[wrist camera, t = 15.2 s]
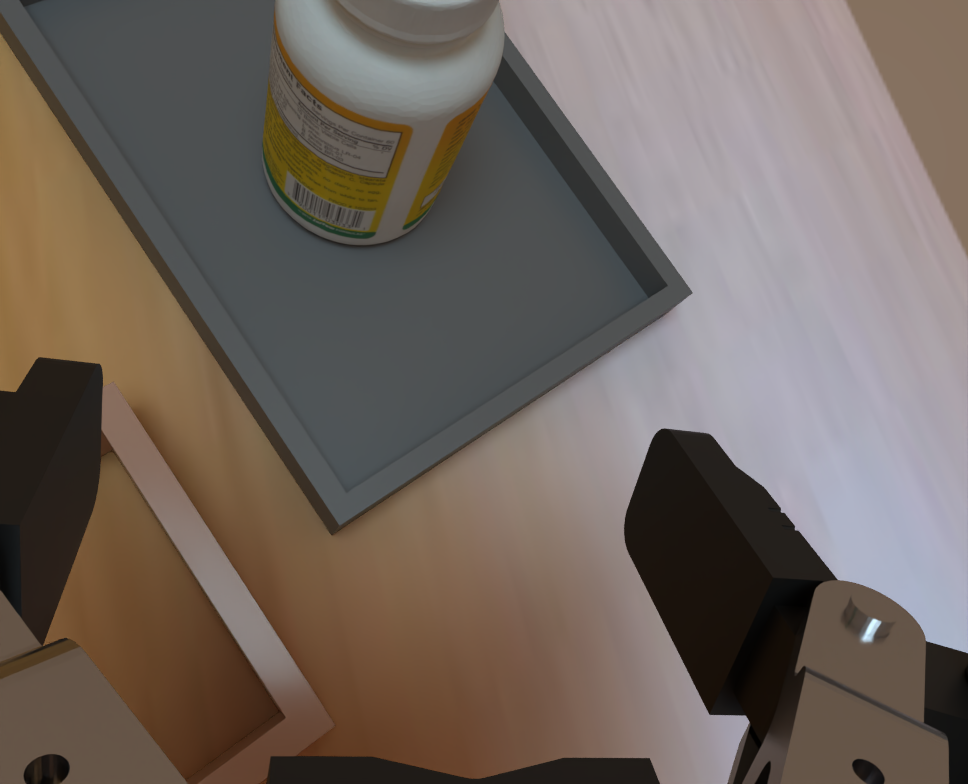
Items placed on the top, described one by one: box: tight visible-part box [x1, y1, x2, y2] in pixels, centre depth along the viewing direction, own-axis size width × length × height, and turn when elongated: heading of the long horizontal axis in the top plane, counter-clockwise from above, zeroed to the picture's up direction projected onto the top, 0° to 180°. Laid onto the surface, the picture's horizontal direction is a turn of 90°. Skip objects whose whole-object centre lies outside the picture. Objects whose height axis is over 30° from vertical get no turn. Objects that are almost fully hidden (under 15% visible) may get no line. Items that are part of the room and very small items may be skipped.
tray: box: [0, 0, 693, 535], centre depth 26 cm, size 18×13×2 cm
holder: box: [101, 382, 335, 784], centre depth 20 cm, size 10×10×2 cm
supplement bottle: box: [262, 0, 505, 245], centre depth 22 cm, size 5×5×10 cm
